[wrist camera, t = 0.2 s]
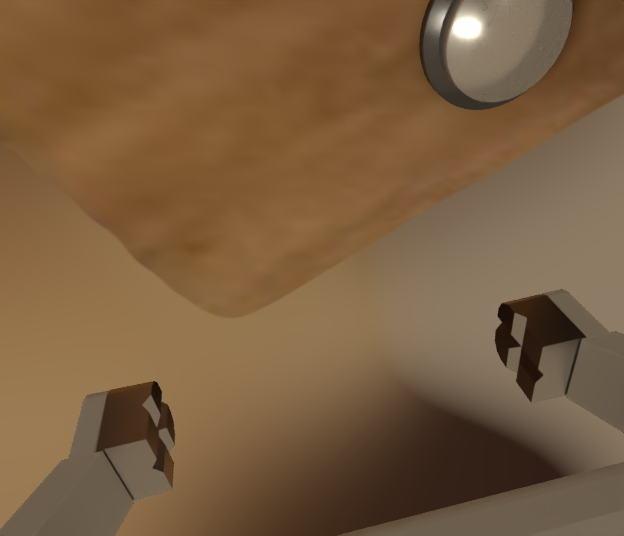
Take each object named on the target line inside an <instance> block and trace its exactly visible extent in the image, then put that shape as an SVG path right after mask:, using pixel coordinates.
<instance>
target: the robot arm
mask: <svg viewBox="0 0 624 536" xmlns="http://www.w3.org/2000/svg"><path fill="white" fill-rule="evenodd" d="M498 318H499V319H500V320H501V322H502V323H501V324H500V326H499V327H498V328H497V329H496V332H495V344H496V349H497V352H498V355H499V357H500V359H501V360H502V362H503V363H504V365H505V367H506V368H508V369H510V370H512V371H514V372H516V373H517V378H516V382H517V384H518V385H519V387H520V388H521V389H522V391H523V392H524V394H525V395H526V396H527V398H528V399H529V401H530V402H531V403H534V402H538V401H543V400H548V399H552V398H557V397H562V396H566V395H567V396H566V397H567V398H568V399H569V400H571V401H573V402H574V403H576V404H578V405H579V406H581V407H582V408H584V409H586V410H587V411H589V412H591V413H592V414H594V415H596V416H597V417H599V418H600V419H602V420H604V421H605V422H607V423H609V424H610V425H612V426H613V427H615V428H617V429H618V430H620V431H622V432H623V433H624V334H622V333H619V332H617V331H615V332H609V331H608V330H607V329H606V328H604V326H603V325H602V324H601V323H599V322H598V321H597V320H596V319H595V318H594V317H593V316H592V315H591V314H590V313H589V312H588V311H587V310H586V309H585V308H584V307H583V306H582V305H581V304H580V303H579V302H578V301H577V300H576V299H575V298H574V297H573V296H572V295H571V294H570V293H569V292H567V291H565V290H563V289H560V290H556V291H551V292H547V293H543V294H541V295H535V296H530V297H526V298H522V299H518V300H513V301H509V302H505V303H502V304H501V305H500V307H499V309H498ZM161 400H162V391H161V389H160V387H159V385H158V383H157V382H155V381H153V382H147V383H143V384H137V385H133V386H127V387H122V388H117V389H112V390H110V391H105V392H100V393H95V394H89V395H87V396H86V397H85V399H84V400H83V402H82V406H81V410H80V414H79V418H78V422H77V427H76V430H75V434H74V439H73V443H72V447H71V451H70V455H69V459H65V460H61V462H60V463H59V464H58V465H57V466H56V467H55V468H54V470H53V471H52V472H51V473H50V474H49V475H48V476H47V477H46V478H45V480H44V481H43V482H42V483H41V484H40V485H39V486H38V487H37V489H36V490H35V491H34V492H33V493H32V494H31V495H30V497H29V498H28V499H27V500H26V501H25V502H24V503H23V504H22V506H21V507H20V508H19V509H18V510H17V511H16V512H15V513H14V514H13V516H12V517H11V518H10V519H9V520H8V521H7V522H6V524H5V525H4V526H3V527H2V528H1V529H0V536H115V534H116V533H117V531H118V529H119V528H120V526H121V524H122V522H123V521H124V519H125V517H126V516H127V514H128V512H129V511H130V509H131V507H132V505H133V504H134V502H133V500H137V499H141V498H144V497H148V496H152V495H156V494H159V493H163V492H166V491H170V490H172V488H173V470H174V462H173V460H172V458H171V456H170V454H169V453H170V451H171V450H172V448H173V447H174V445H175V430H174V421H173V418H172V414H171V411H170V409H169V406H168V405H167V404H165V403H163V402H161ZM338 536H624V462H622V463H618V464H614V465H610V466H606V467H602V468H598V469H594V470H590V471H587V472H583V473H579V474H575V475H571V476H567V477H564V478H559V479H555V480H552V481H548V482H544V483H541V484H536V485H533V486H529V487H525V488H521V489H517V490H513V491H509V492H505V493H501V494H497V495H494V496H489V497H486V498H482V499H478V500H474V501H470V502H467V503H462V504H459V505H455V506H451V507H447V508H443V509H439V510H435V511H432V512H428V513H424V514H420V515H416V516H412V517H408V518H404V519H400V520H397V521H393V522H389V523H385V524H381V525H377V526H373V527H369V528H365V529H361V530H357V531H354V532H350V533H346V534H342V535H338Z"/></svg>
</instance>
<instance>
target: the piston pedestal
mask: <svg viewBox="0 0 624 536" xmlns="http://www.w3.org/2000/svg"><path fill="white" fill-rule="evenodd" d="M573 9H574V0H430V2H429V4H428V6H427V9H426V12H425V15H424V18H423V22H422V27H421V32H420V58H421V63H422V67H423V70H424V73H425V76H426V78H427V80H428V82H429V83H430V85H431V86H432V87H433V89H434V90H435V91H436V92H437V93H438V94H439V95H440V96H441V97H443V98H444V99H445V100H447V101H448V102H450V103H451V104H453V105H455V106H458V107H461V108H465V109H471V110H483V109H489V108H493V107H497V106H500V105H502V104H505V103H507V102H509V101H511V100H513V99H515V98H517V97H518V96H520V95H521V94H523V93H524V92H525V91H527V90H528V89H529V88H531V87H532V86H533V85H534V84H536V83H537V82H538V81H539V80H540V79H541V78H542V77H543V76H544V75H545V74H546V73H547V72H548V70H549V69H550V68H551V67H552V65H553V64H554V62H555V61H556V60H557V58H558V56H559V54H560V53H561V51H562V49H563V46H564V44H565V42H566V39H567V36H568V33H569V29H570V25H571V20H572V16H573Z"/></svg>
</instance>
